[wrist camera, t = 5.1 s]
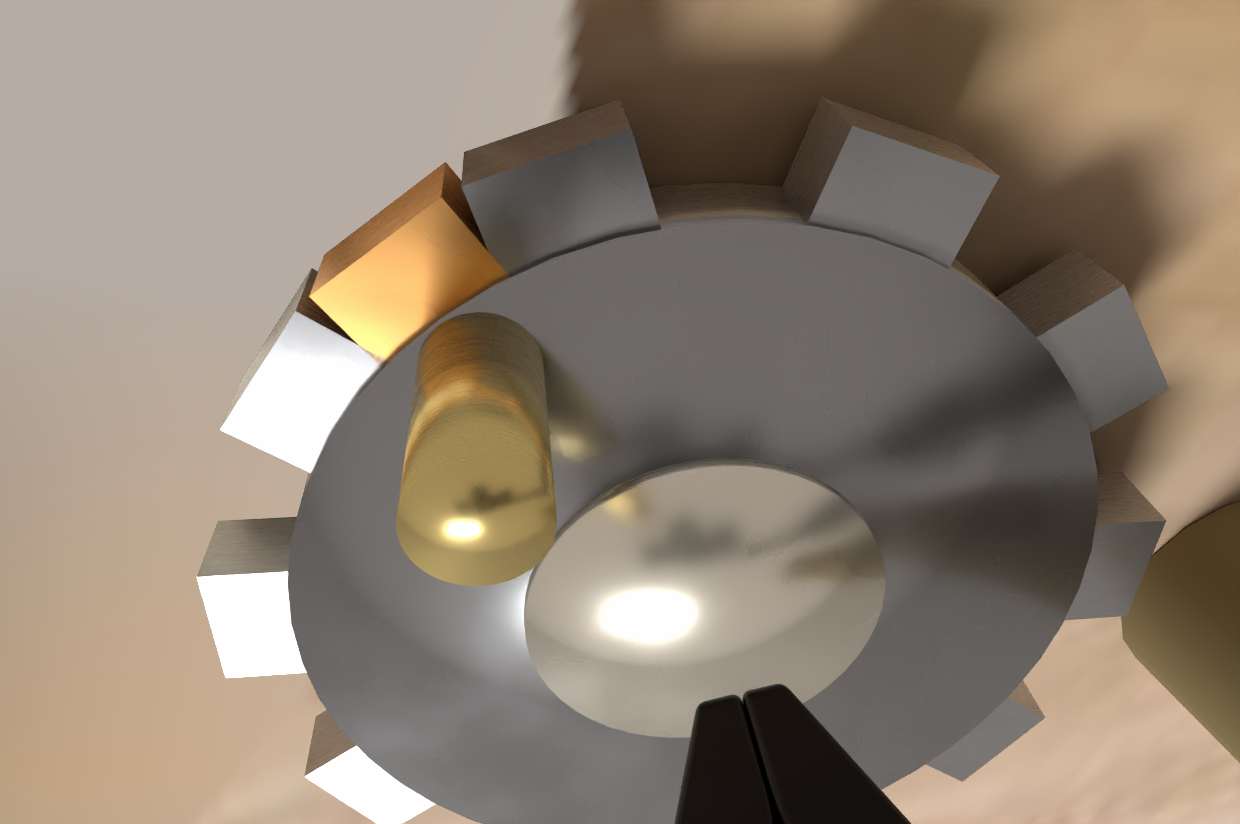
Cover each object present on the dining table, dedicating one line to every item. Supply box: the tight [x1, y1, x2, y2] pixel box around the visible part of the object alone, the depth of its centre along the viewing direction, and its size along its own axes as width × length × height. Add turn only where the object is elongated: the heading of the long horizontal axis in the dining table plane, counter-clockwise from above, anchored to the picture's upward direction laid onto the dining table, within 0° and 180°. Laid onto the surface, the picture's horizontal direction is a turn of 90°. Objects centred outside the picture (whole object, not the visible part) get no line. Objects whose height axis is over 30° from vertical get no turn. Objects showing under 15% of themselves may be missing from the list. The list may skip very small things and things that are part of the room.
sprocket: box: [197, 97, 1169, 824], centre depth 18 cm, size 19×18×6 cm
